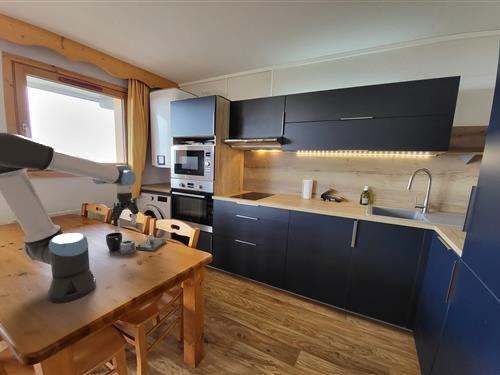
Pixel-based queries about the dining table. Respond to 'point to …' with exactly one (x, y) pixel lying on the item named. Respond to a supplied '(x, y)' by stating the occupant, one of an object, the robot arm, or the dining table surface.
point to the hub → (127, 247)
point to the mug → (114, 241)
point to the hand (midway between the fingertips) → (126, 227)
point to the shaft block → (150, 243)
